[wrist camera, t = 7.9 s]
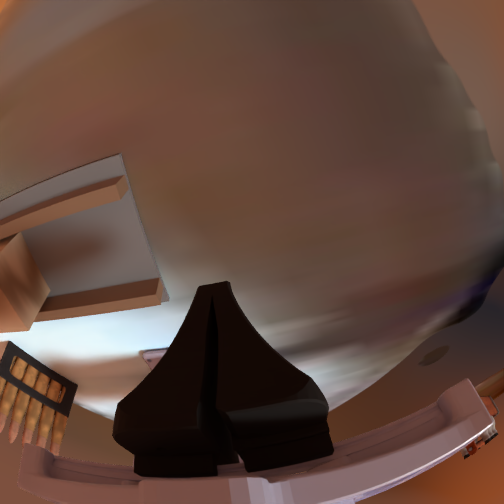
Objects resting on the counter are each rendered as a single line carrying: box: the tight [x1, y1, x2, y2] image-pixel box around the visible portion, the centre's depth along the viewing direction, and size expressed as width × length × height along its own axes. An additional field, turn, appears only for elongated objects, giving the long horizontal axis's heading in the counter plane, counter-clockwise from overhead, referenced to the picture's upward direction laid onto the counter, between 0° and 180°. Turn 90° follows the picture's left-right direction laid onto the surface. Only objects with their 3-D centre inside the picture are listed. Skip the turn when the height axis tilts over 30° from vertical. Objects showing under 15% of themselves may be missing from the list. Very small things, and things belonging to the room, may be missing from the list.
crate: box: [0, 232, 51, 333], centre depth 16 cm, size 6×6×5 cm
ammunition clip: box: [0, 341, 78, 456], centre depth 21 cm, size 11×2×12 cm, turn 42°
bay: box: [0, 153, 169, 322], centre depth 18 cm, size 12×18×2 cm, turn 98°
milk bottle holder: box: [460, 396, 499, 459], centre depth 65 cm, size 21×35×19 cm, turn 57°
